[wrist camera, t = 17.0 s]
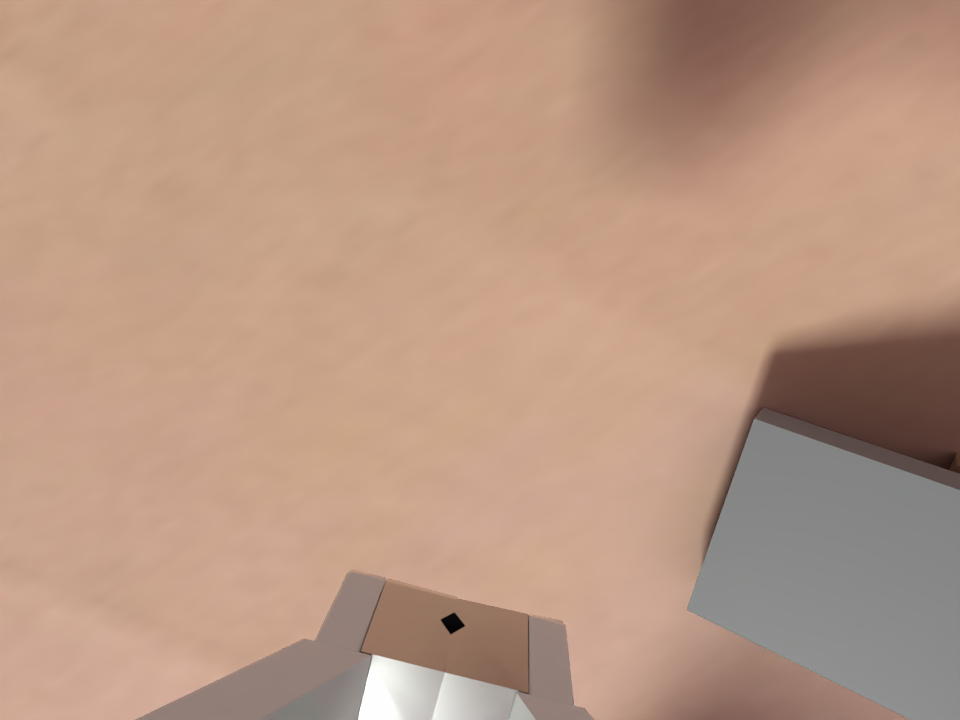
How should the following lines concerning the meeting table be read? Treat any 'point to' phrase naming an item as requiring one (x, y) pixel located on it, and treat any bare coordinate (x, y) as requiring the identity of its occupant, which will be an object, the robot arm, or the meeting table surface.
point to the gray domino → (842, 564)
